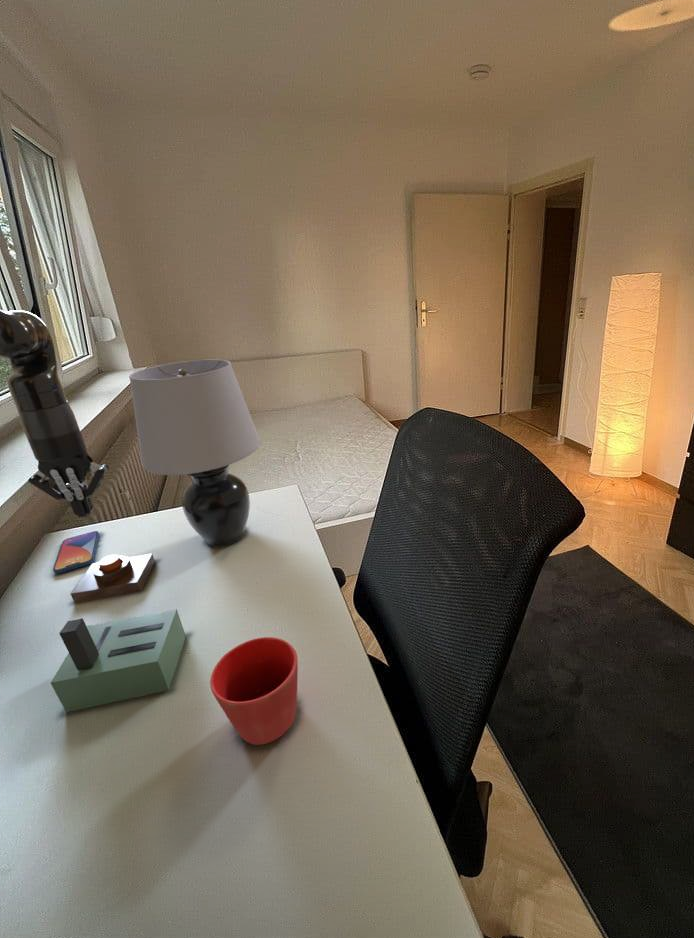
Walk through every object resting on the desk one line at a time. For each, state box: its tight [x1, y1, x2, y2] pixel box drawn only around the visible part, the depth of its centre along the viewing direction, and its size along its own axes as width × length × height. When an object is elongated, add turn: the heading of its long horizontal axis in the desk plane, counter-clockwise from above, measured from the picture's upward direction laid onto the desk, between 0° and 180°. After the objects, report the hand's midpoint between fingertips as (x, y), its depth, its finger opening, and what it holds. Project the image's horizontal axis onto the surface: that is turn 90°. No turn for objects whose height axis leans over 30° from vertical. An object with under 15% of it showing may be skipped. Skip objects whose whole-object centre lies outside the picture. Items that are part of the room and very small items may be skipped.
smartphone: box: [52, 530, 100, 574], centre depth 102 cm, size 7×15×1 cm, turn 29°
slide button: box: [58, 618, 99, 670], centre depth 63 cm, size 2×2×7 cm
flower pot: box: [209, 636, 299, 746], centre depth 59 cm, size 11×11×10 cm
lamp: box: [128, 358, 261, 547], centre depth 97 cm, size 24×24×40 cm
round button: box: [98, 554, 122, 572], centre depth 90 cm, size 4×4×2 cm
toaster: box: [50, 609, 187, 713], centre depth 69 cm, size 14×11×6 cm
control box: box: [70, 553, 156, 603], centre depth 91 cm, size 12×10×4 cm
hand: (85, 515), depth 85 cm, fingers closed
